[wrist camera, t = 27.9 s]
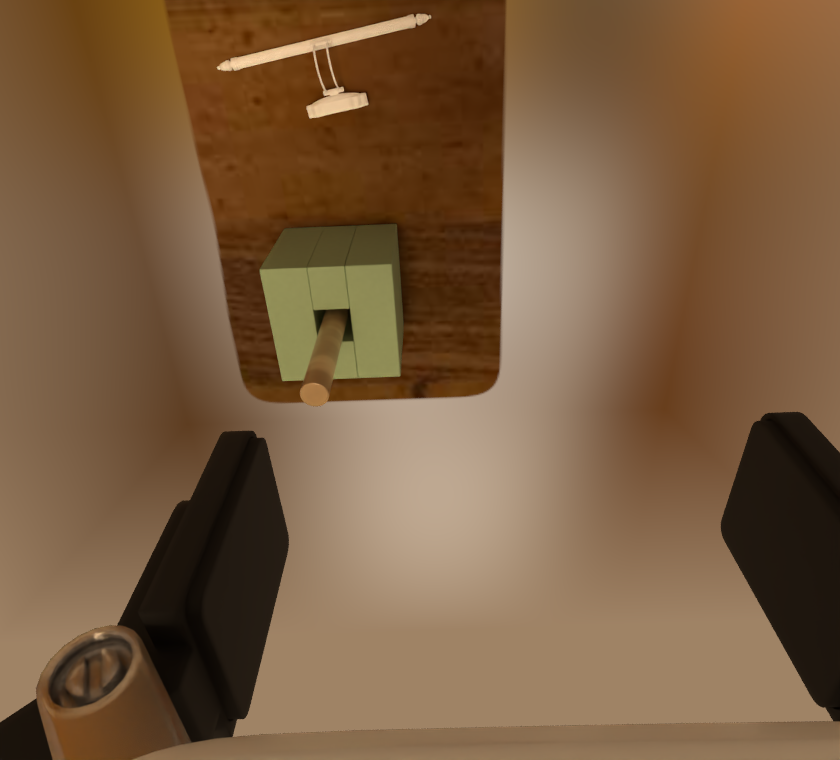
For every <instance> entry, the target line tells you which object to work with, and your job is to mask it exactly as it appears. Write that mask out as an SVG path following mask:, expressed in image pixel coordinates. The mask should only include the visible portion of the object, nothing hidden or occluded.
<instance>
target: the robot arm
mask: <svg viewBox="0 0 840 760" xmlns="http://www.w3.org/2000/svg"><path fill="white" fill-rule="evenodd" d="M721 532H722V536H723V539H724V541H725V543H726V544H727V546H728V548H729V550H730V552H731V553H732V555H733V557H734V559H735V561H736V562H737V564H738V566H739V568H740V570H741V571H742V573H743V575H744V577H745V579H746V580H747V582H748V584H749V586H750V588H751V589H752V591H753V593H754V595H755V597H756V598H757V600H758V602H759V604H760V606H761V607H762V609H763V611H764V613H765V614H766V616H767V618H768V620H769V621H770V623H771V625H772V627H773V629H774V631H775V632H776V634H777V636H778V637H779V639H780V641H781V643H782V645H783V647H784V649H785V650H786V652H787V654H788V656H789V657H790V659H791V661H792V663H793V665H794V666H795V668H796V670H797V672H798V674H799V675H800V677H801V679H802V681H803V683H804V684H805V686H806V688H807V690H808V692H809V693H810V695H811V697H812V698H813V700H814V701H815V702H816V703H817V704H818V705H819V706H821V707H826V709H827V711H828V712H829V714H830V716H831V718H832V719H833V721H822V722H821V721H820V722H748V723H686V724H685V723H680V724H679V723H678V724H677V723H676V724H624V725H623V724H622V725H572V726H571V725H570V726H523V727H522V726H520V727H478V728H477V727H475V728H436V729H396V730H355V731H354V730H353V731H331V732H307V733H283V734H261V735H250V736H239V737H233V733H234V729H235V725H236V721H237V719H244V718H245V717H246V716H247V714H248V711H249V708H250V704H251V700H252V696H253V691H254V687H255V683H256V679H257V675H258V671H259V667H260V663H261V659H262V655H263V651H264V647H265V643H266V638H267V635H268V630H269V626H270V622H271V618H272V614H273V610H274V606H275V602H276V598H277V594H278V590H279V586H280V582H281V577H282V573H283V569H284V565H285V561H286V557H287V553H288V545H289V538H288V532H287V527H286V523H285V518H284V514H283V510H282V506H281V502H280V498H279V494H278V489H277V486H276V481H275V477H274V473H273V468H272V465H271V460H270V456H269V452H268V448H267V444H266V440H265V439H264V438H257V437H256V434H255V433H254V431H230V432H223V433H222V434H221V435H220V437H219V440H218V442H217V444H216V446H215V448H214V450H213V452H212V454H211V456H210V459H209V461H208V463H207V465H206V467H205V469H204V472H203V474H202V476H201V478H200V480H199V482H198V484H197V487H196V489H195V491H194V493H193V495H192V497H191V500H189V501H182V502H180V503H178V504H177V506H176V507H175V509H174V511H173V513H172V515H171V517H170V519H169V521H168V523H167V525H166V527H165V529H164V531H163V533H162V535H161V537H160V540H159V541H158V543H157V545H156V547H155V549H154V551H153V553H152V555H151V558H150V559H149V562H148V564H147V566H146V568H145V570H144V572H143V574H142V576H141V578H140V580H139V582H138V584H137V586H136V588H135V590H134V592H133V594H132V596H131V598H130V600H129V603H128V604H127V607H126V609H125V610H124V613H123V615H122V617H121V619H120V621H119V623H118V625H117V626H114V625H109V626H104V627H100V628H95V629H92V630H90V631H88V632H86V633H84V634H81V635H80V636H77V637H76V638H75V639H73V640H72V641H70V642H69V643H67V644H66V645H64V646H63V647H62V648H61V649H60V650H59V651H58V652H57V653H56V654H55V655H54V656H53V657H52V658H51V659H50V661H49V662H48V664H47V665H46V667H45V669H44V670H43V672H42V673H41V675H40V679H39V681H38V684H37V688H36V697H37V698H36V699H35V700H33V701H32V702H30V703H29V704H27V705H26V706H24V707H23V708H21V709H20V710H18V711H17V712H15V713H14V714H12V715H11V716H9V717H8V718H6V719H5V720H3V721H2V722H0V760H840V453H839V451H838V450H837V449H836V448H835V447H834V446H833V445H832V444H831V443H830V442H829V441H828V439H827V438H826V437H825V436H824V435H823V434H822V433H821V432H820V431H819V430H818V429H817V428H816V426H815V425H814V424H813V423H812V422H811V421H810V420H809V419H808V418H807V417H806V416H805V415H804V414H802V413H800V412H783V413H767V414H765V415H764V416H763V417H762V418H761V420H760V421H757V422H755V423H754V424H753V426H752V428H751V431H750V434H749V437H748V440H747V443H746V446H745V449H744V452H743V456H742V458H741V462H740V465H739V468H738V471H737V474H736V477H735V480H734V483H733V486H732V489H731V493H730V496H729V499H728V502H727V505H726V508H725V511H724V514H723V517H722V521H721Z"/></svg>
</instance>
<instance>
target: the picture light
mask: <svg viewBox="0 0 840 760" xmlns="http://www.w3.org/2000/svg"><path fill="white" fill-rule="evenodd" d="M428 19H431V15H429V16H428V15H426V14H417V15H416V17H414V15H413V14H410V15H408V16H406V17H402V18H397V19H393V20H389V21H385V22H381V23H377V24H373V25H369V26H365V27H360V28H356V29H352V30H348V31H344V32H340V33H336V34H332V35H328V36H323V37H319V38H315V39H311V40H307V41H303V42H299V43H295V44H291V45H286V46H282V47H278V48H274V49H270V50H266V51H262V52H258V53H254V54H249V55H245V56H241V57H234V58H231V59H230V61H229V60H226V61H225V62H222V63H221V64H220V66H217V69H218V70H220V69H221V70H223V71H232V68H233V70H234V71H236V70H240V69H241V68H245V67H250V66H254V65H258V64H262V63H266V62H270V61H274V60H279V59H283V58H287V57H291V56H295V55H299V54H304V53H308V52H312V51H313V54H314V60H315V65H316V69H317V73H318V76H319V79H320V82H321V85H322V87H323V89H324V91H323V94H324V96H327V95H330V96H328V97H325V98H322V99H320V100H318V101H316V102H314V103H313V104H312V105H308V106H307V107H306V108H307V111H308V115H309V118H317V117H321V116H325V115H329V114H333V113H338V112H342V111H347V110H351V109H357V108H360V107H363V106H366V105H369V104H368V100H367V96H366V93H340V92H344V88H343V87H338V85H337V83H336V80H335V77H334V74H333V70H332V66H331V62H330V57H329V51H328V48H329V47H333V46H337V45H341V44H345V43H349V42H353V41H358V40H362V39H366V38H370V37H374V36H378V35H383V34H387V33H391V32H395V31H399V30H403V29H407V28H410V29H411V28H415V26H416V23H417V24H418V25H422V23H425V22H427V21H428ZM324 48H326V51H327V57H328V62H329V66H330V70H331V74H332V77H333V80H334V83H335V85H336V87H337V88H334V89H330V90H326V89H325V87H324V85H323V82H322V79H321V76H320V73H319V69H318V65H317V60H316V54H315V51H316V50H320V49H324ZM339 93H340V94H339Z"/></svg>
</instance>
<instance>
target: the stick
mask: <svg viewBox="0 0 840 760" xmlns="http://www.w3.org/2000/svg"><path fill="white" fill-rule="evenodd" d="M349 310H350V308H349V309H329V310H326V311H325V314H324V317H323V320H322V323H321V327H320V330H319V333H318V336H317V339H316V342H315V346H314V349H313V352H312V355H311V358H310V361H309V365H308V368H307V371H306V374H305V377H304V380H303V384H302V387H301V390H300V396H301V399H302V400H303V401H304V402H305V403H306V404H308V405H311V406H320V405H323V404H325V403H326V402H327V400H328V398H329V394H330V390H331V386H332V381H333V377H334V373H335V369H336V365H337V360H338V356H339V352H340V348H341V344H342V340H343V335H344V331H345V327H346V323H347V319H348V314H349Z"/></svg>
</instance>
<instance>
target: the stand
mask: <svg viewBox="0 0 840 760" xmlns="http://www.w3.org/2000/svg"><path fill="white" fill-rule="evenodd" d="M260 275H261V280H262V284H263V289H264V294H265V299H266V304H267V309H268V314H269V318H270V323H271V328H272V333H273V338H274V343H275V348H276V352H277V357H278V362H279V367H280V372H281V377H282V381H293V380H304V377H305V374H306V371H307V368H308V365H309V361H310V358H311V355H312V352H313V349H314V346H315V342H316V339H317V336H318V333H319V330H320V327H321V323H322V320H323V317H324V314H325V311H326V310H329V309H349V308H350V310H349V314H348V319H347V323H346V327H345V331H344V335H343V340H342V344H341V348H340V352H339V356H338V360H337V365H336V369H335V373H334V377H333V379H344V378H358V377H359V378H368V377H396V376H400V375H401V359H402V343H403V326H404V322H403V307H402V293H401V278H400V264H399V249H398V235H397V224H380V225H358V226H357V227H356V226H333V227H308V228H286V229H284V230H283V232H282V234H281V235H280V237H279V239H278V240H277V242H276V243H275V245H274V247H273V248H272V250H271V252H270V253H269V255H268V257H267V258H266V260H265V261H264V263H263V265H262V266H261V268H260Z"/></svg>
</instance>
